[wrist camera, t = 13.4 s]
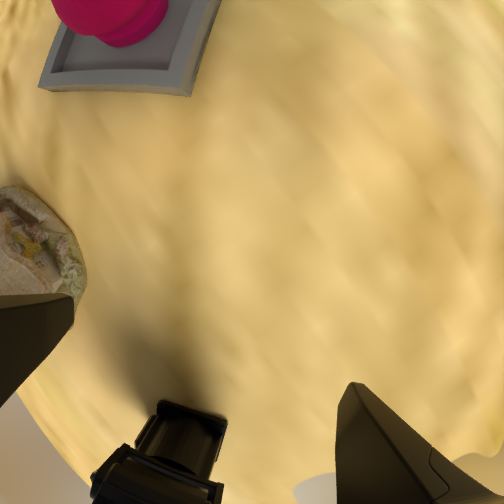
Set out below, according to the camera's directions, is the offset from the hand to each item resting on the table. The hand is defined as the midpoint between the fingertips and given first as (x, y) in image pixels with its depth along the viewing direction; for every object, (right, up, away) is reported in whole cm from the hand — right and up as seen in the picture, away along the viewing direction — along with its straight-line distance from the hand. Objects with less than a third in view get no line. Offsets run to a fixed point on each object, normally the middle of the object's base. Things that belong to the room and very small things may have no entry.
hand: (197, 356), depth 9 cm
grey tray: (-8, +22, +10) cm, 26 cm away
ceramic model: (-19, +2, +16) cm, 25 cm away
